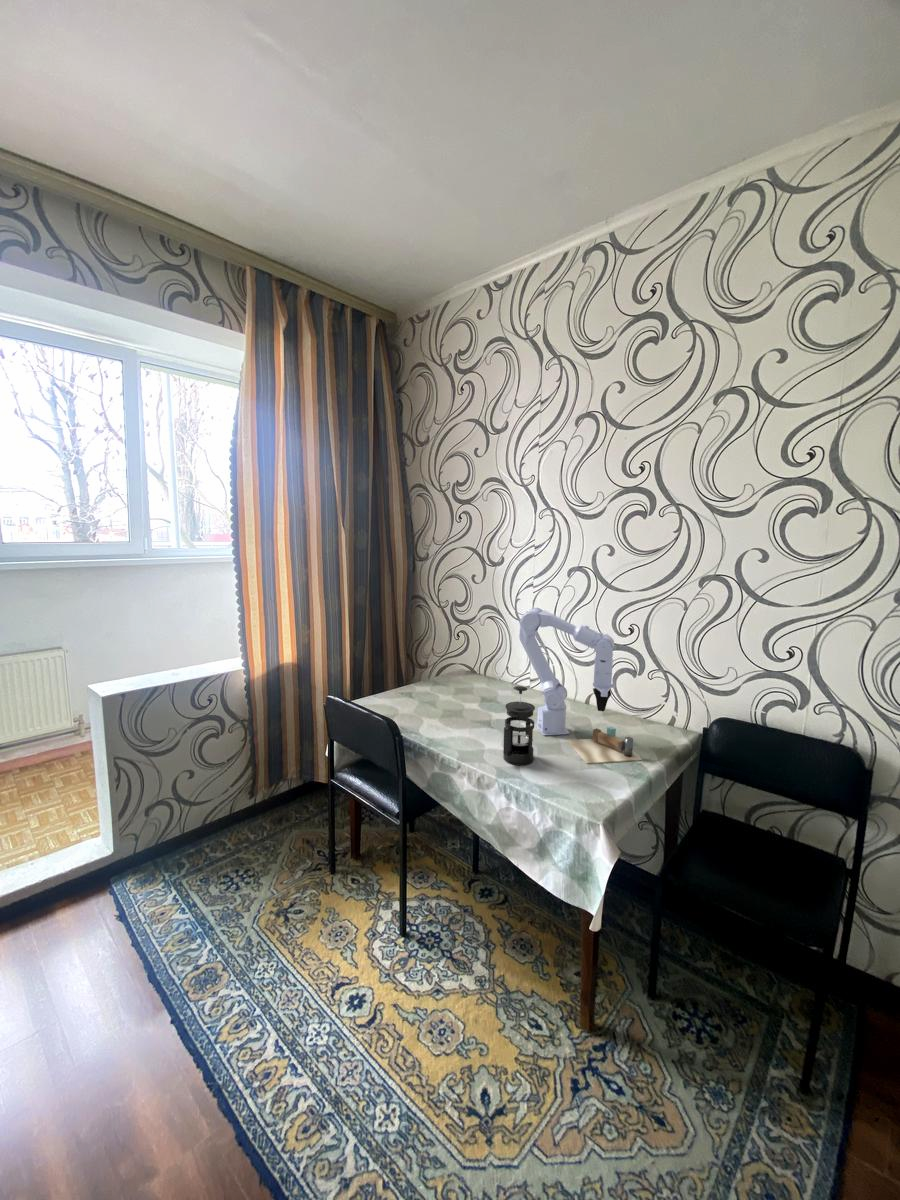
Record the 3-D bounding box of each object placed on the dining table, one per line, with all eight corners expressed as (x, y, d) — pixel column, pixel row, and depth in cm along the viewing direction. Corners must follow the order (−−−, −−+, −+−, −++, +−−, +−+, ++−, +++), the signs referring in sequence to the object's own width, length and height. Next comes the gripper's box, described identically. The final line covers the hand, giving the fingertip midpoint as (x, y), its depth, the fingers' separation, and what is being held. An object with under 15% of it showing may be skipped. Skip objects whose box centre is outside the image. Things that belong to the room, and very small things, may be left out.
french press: (517, 748, 159) (519, 679, 156) (541, 758, 152) (543, 687, 149) (493, 759, 151) (495, 688, 148) (517, 770, 144) (519, 696, 141)
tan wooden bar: (624, 750, 156) (625, 739, 155) (620, 752, 155) (621, 741, 154) (596, 738, 164) (596, 728, 164) (592, 740, 163) (593, 729, 163)
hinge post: (626, 758, 152) (627, 740, 151) (622, 754, 155) (623, 737, 154) (633, 758, 153) (634, 739, 152) (629, 754, 155) (630, 736, 154)
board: (586, 764, 149) (586, 762, 149) (566, 741, 164) (566, 740, 164) (642, 760, 151) (642, 759, 151) (617, 738, 167) (617, 737, 167)
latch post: (610, 742, 164) (610, 729, 163) (606, 739, 166) (607, 727, 165) (615, 741, 164) (615, 728, 164) (611, 739, 166) (612, 726, 166)
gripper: (618, 678, 156) (616, 719, 158) (613, 666, 170) (610, 703, 172) (595, 677, 157) (593, 717, 159) (591, 664, 171) (589, 702, 173)
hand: (600, 710), depth 165 cm, fingers closed
